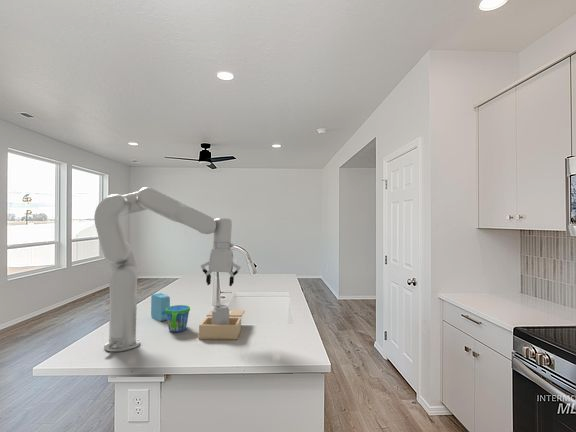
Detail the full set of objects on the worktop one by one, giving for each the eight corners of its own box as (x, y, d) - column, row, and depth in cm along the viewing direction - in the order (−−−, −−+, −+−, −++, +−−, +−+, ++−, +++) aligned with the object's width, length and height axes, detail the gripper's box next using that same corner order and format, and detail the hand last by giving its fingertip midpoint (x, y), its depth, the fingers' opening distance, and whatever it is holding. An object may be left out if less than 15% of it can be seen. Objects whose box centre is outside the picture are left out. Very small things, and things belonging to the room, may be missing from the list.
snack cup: (183, 336, 141) (184, 312, 142) (159, 335, 141) (159, 312, 142) (193, 325, 157) (194, 303, 157) (172, 324, 157) (172, 303, 157)
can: (221, 329, 148) (222, 303, 149) (232, 333, 143) (233, 305, 144) (208, 334, 142) (208, 306, 143) (219, 337, 138) (219, 309, 138)
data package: (169, 320, 164) (170, 296, 165) (160, 322, 161) (161, 297, 162) (159, 315, 173) (159, 292, 173) (150, 317, 170) (151, 293, 170)
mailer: (236, 340, 137) (237, 325, 137) (198, 339, 137) (199, 325, 137) (241, 330, 149) (241, 317, 149) (206, 330, 149) (206, 317, 149)
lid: (244, 310, 162) (244, 311, 162) (212, 309, 162) (212, 311, 162) (241, 315, 150) (241, 316, 150) (206, 314, 150) (206, 316, 150)
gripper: (242, 246, 148) (240, 284, 147) (204, 244, 148) (202, 282, 147) (240, 247, 140) (238, 287, 140) (200, 245, 140) (197, 285, 140)
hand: (219, 285), depth 143 cm, fingers open, 9 cm apart
